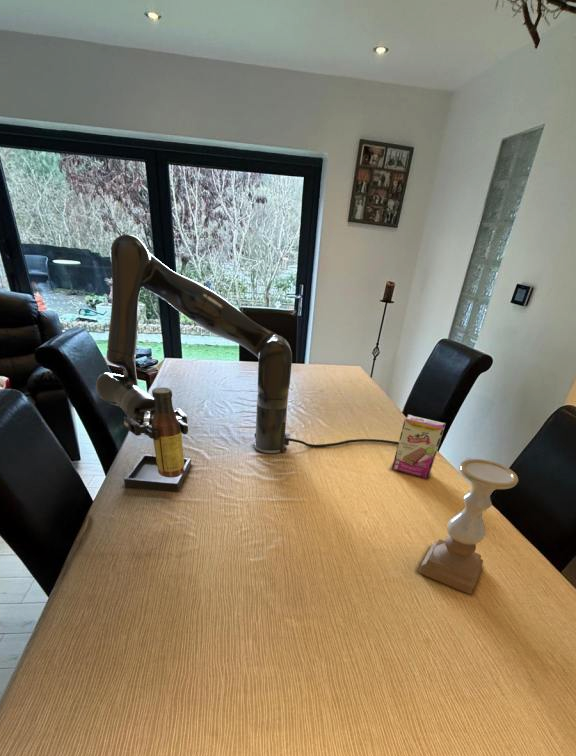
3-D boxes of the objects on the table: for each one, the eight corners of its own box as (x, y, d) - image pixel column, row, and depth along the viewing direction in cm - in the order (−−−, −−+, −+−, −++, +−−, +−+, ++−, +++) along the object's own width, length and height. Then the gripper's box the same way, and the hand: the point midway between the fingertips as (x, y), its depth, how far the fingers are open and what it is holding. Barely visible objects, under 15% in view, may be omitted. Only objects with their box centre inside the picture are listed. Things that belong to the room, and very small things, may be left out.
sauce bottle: (189, 469, 101) (185, 388, 90) (175, 481, 96) (169, 397, 85) (165, 463, 102) (158, 383, 91) (151, 474, 97) (141, 391, 86)
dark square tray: (191, 465, 119) (190, 458, 117) (178, 491, 106) (177, 483, 105) (143, 461, 118) (142, 454, 117) (125, 486, 106) (123, 479, 105)
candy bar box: (391, 470, 126) (403, 418, 117) (394, 463, 130) (407, 413, 121) (428, 480, 123) (444, 428, 114) (430, 473, 127) (446, 422, 118)
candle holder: (471, 595, 83) (517, 492, 70) (417, 572, 87) (451, 472, 74) (481, 566, 91) (524, 469, 78) (432, 546, 95) (465, 452, 82)
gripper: (109, 397, 96) (137, 422, 85) (168, 389, 104) (200, 411, 93) (114, 427, 100) (141, 455, 89) (170, 417, 108) (201, 442, 97)
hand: (171, 432), depth 91 cm, fingers closed on sauce bottle, 6 cm apart
